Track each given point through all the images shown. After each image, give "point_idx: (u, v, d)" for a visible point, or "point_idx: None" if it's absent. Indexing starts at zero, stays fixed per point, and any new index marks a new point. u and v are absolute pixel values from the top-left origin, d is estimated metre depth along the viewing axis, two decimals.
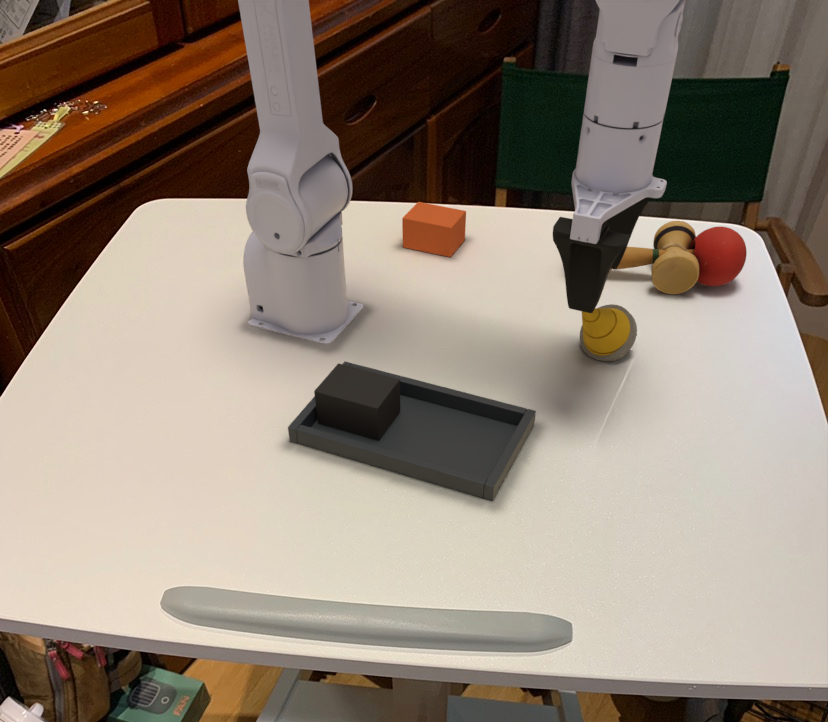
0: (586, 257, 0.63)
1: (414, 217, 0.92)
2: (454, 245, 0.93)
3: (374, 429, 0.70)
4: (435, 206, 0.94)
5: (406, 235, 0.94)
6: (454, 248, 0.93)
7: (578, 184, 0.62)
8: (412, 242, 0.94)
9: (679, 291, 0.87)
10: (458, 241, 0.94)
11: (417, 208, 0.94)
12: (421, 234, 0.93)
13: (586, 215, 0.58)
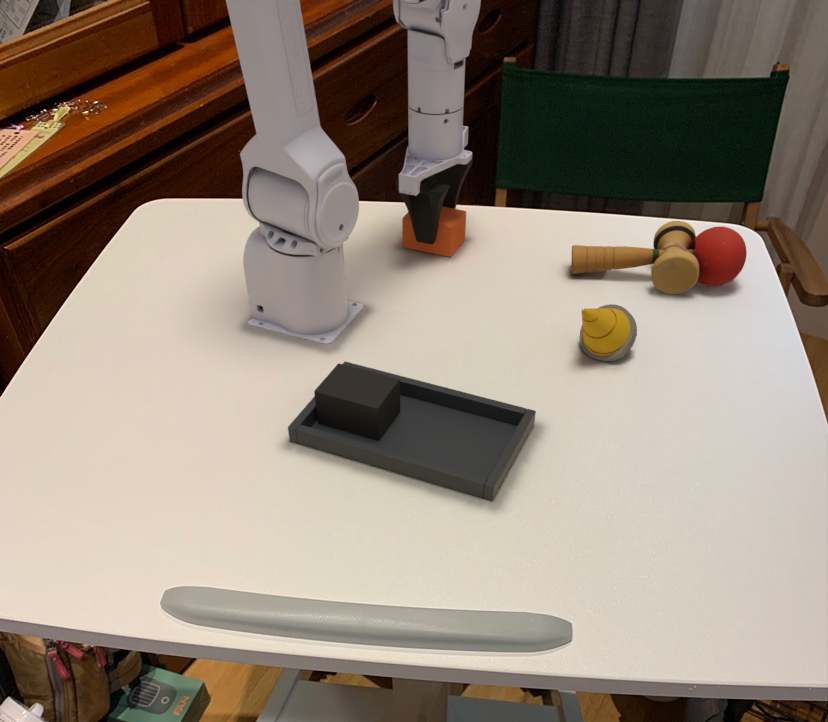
0: (422, 202, 0.89)
1: None
2: (454, 245, 0.93)
3: (374, 429, 0.70)
4: None
5: (406, 236, 0.94)
6: (454, 248, 0.93)
7: (409, 154, 0.87)
8: (412, 242, 0.94)
9: (679, 291, 0.87)
10: (458, 241, 0.94)
11: None
12: None
13: (407, 175, 0.83)
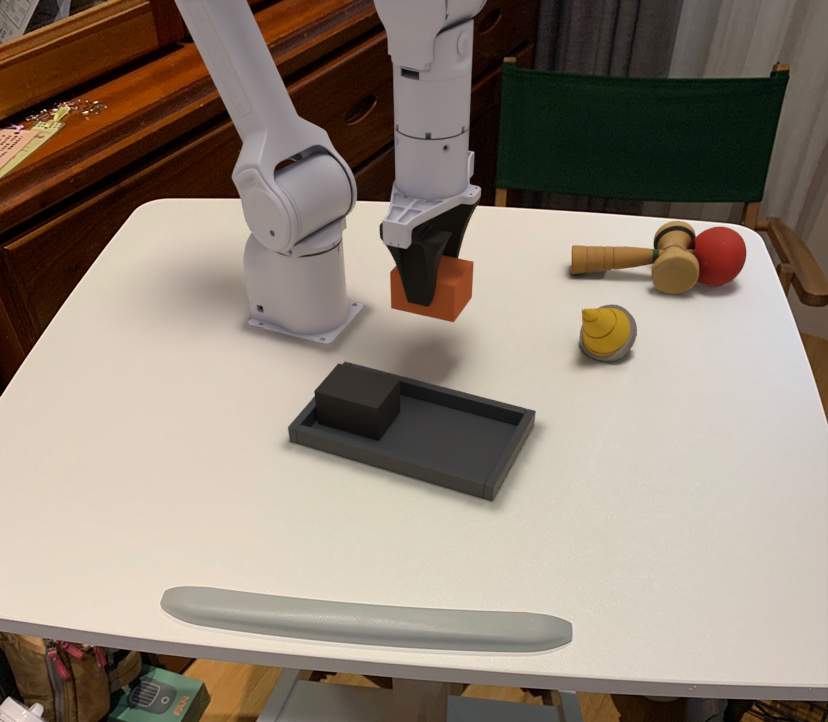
0: (415, 253, 0.67)
1: None
2: (459, 307, 0.71)
3: (374, 429, 0.70)
4: None
5: (395, 294, 0.72)
6: (458, 310, 0.71)
7: (396, 192, 0.65)
8: (403, 302, 0.72)
9: (678, 291, 0.87)
10: (463, 301, 0.72)
11: None
12: None
13: (394, 221, 0.61)
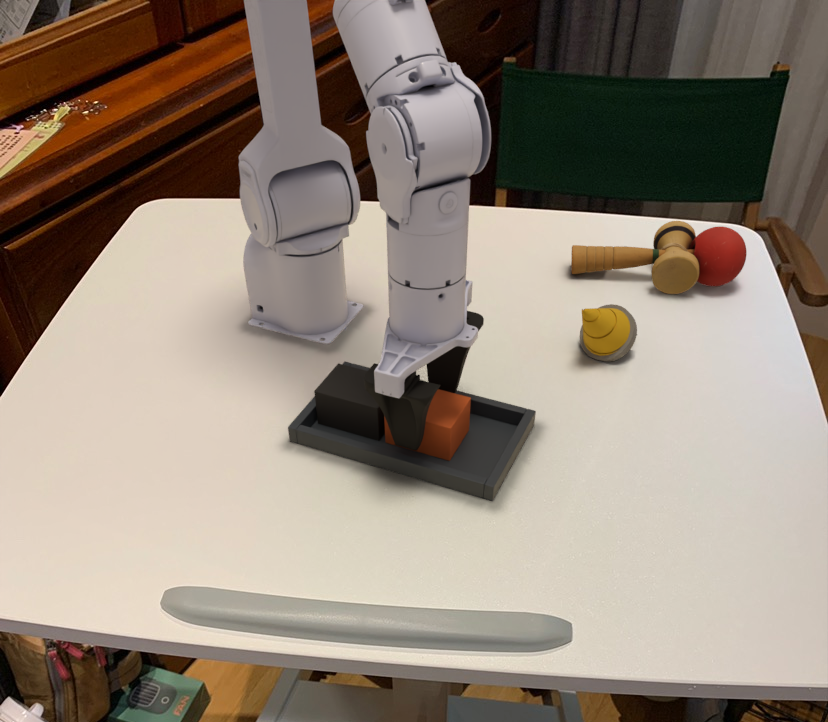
0: (402, 402, 0.64)
1: None
2: (455, 445, 0.69)
3: (374, 429, 0.70)
4: None
5: (389, 430, 0.69)
6: (454, 448, 0.69)
7: (389, 333, 0.62)
8: None
9: (678, 291, 0.87)
10: (460, 437, 0.70)
11: None
12: None
13: (386, 372, 0.58)
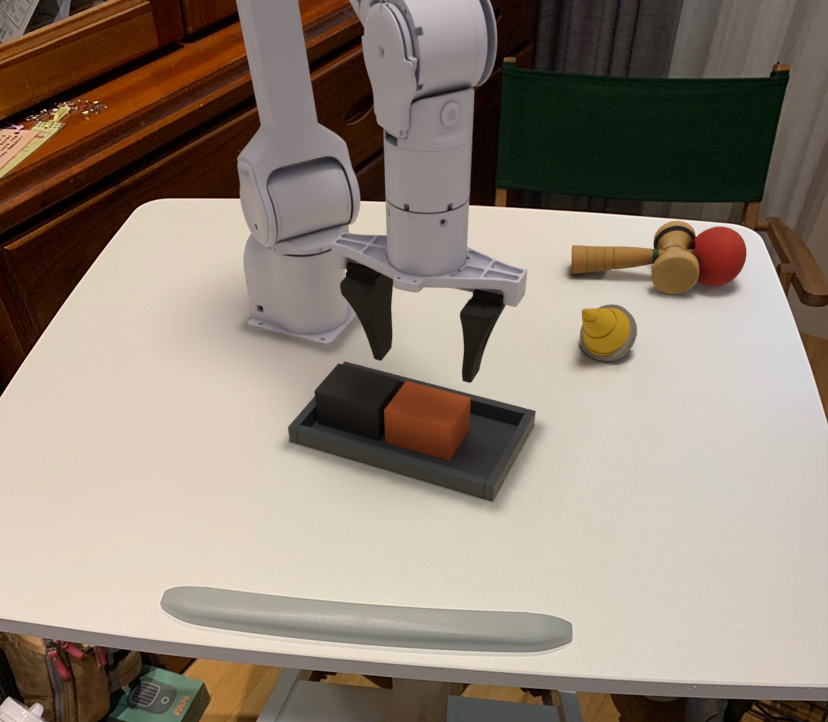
0: None
1: (400, 409, 0.68)
2: (455, 445, 0.69)
3: (374, 429, 0.70)
4: (429, 389, 0.70)
5: (389, 430, 0.69)
6: (454, 448, 0.69)
7: None
8: (398, 438, 0.69)
9: (678, 291, 0.87)
10: (460, 437, 0.70)
11: (404, 392, 0.69)
12: (410, 431, 0.68)
13: (338, 237, 0.61)
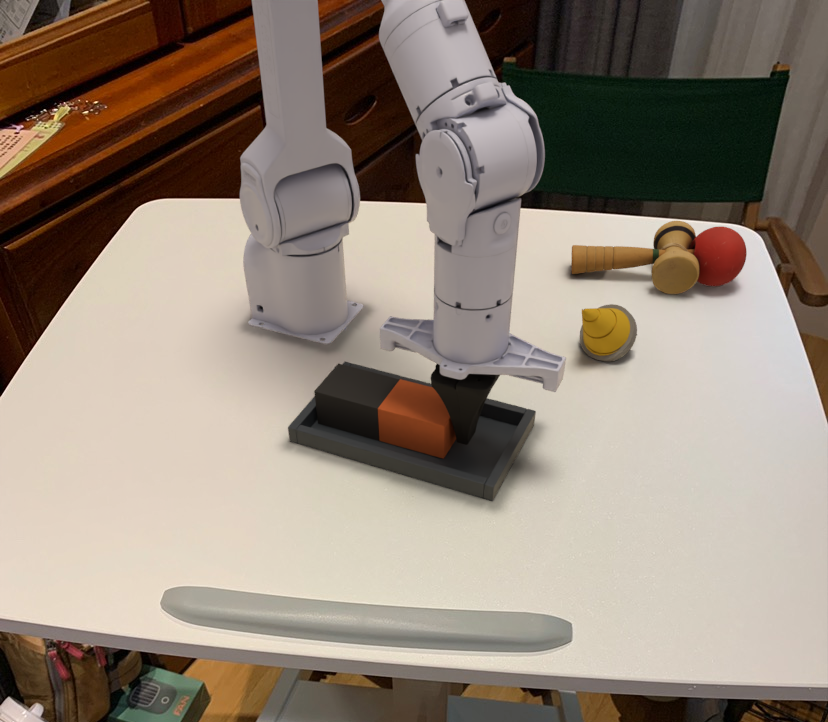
0: None
1: (394, 407, 0.68)
2: (449, 443, 0.69)
3: (374, 429, 0.70)
4: (423, 387, 0.70)
5: (383, 429, 0.69)
6: (448, 446, 0.69)
7: None
8: (392, 437, 0.70)
9: (678, 291, 0.87)
10: (454, 435, 0.70)
11: (398, 391, 0.70)
12: (404, 429, 0.68)
13: (386, 321, 0.64)
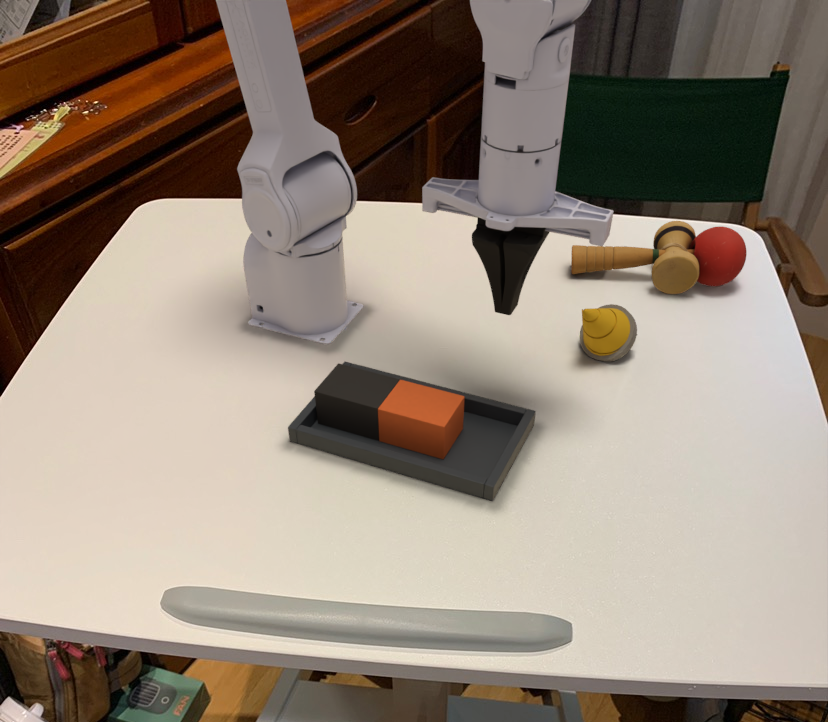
0: None
1: (394, 408, 0.68)
2: (448, 443, 0.69)
3: (374, 429, 0.70)
4: (423, 388, 0.70)
5: (383, 429, 0.69)
6: (448, 446, 0.69)
7: None
8: (392, 437, 0.70)
9: (678, 291, 0.87)
10: (454, 435, 0.70)
11: (398, 391, 0.70)
12: (404, 430, 0.68)
13: (428, 181, 0.64)
